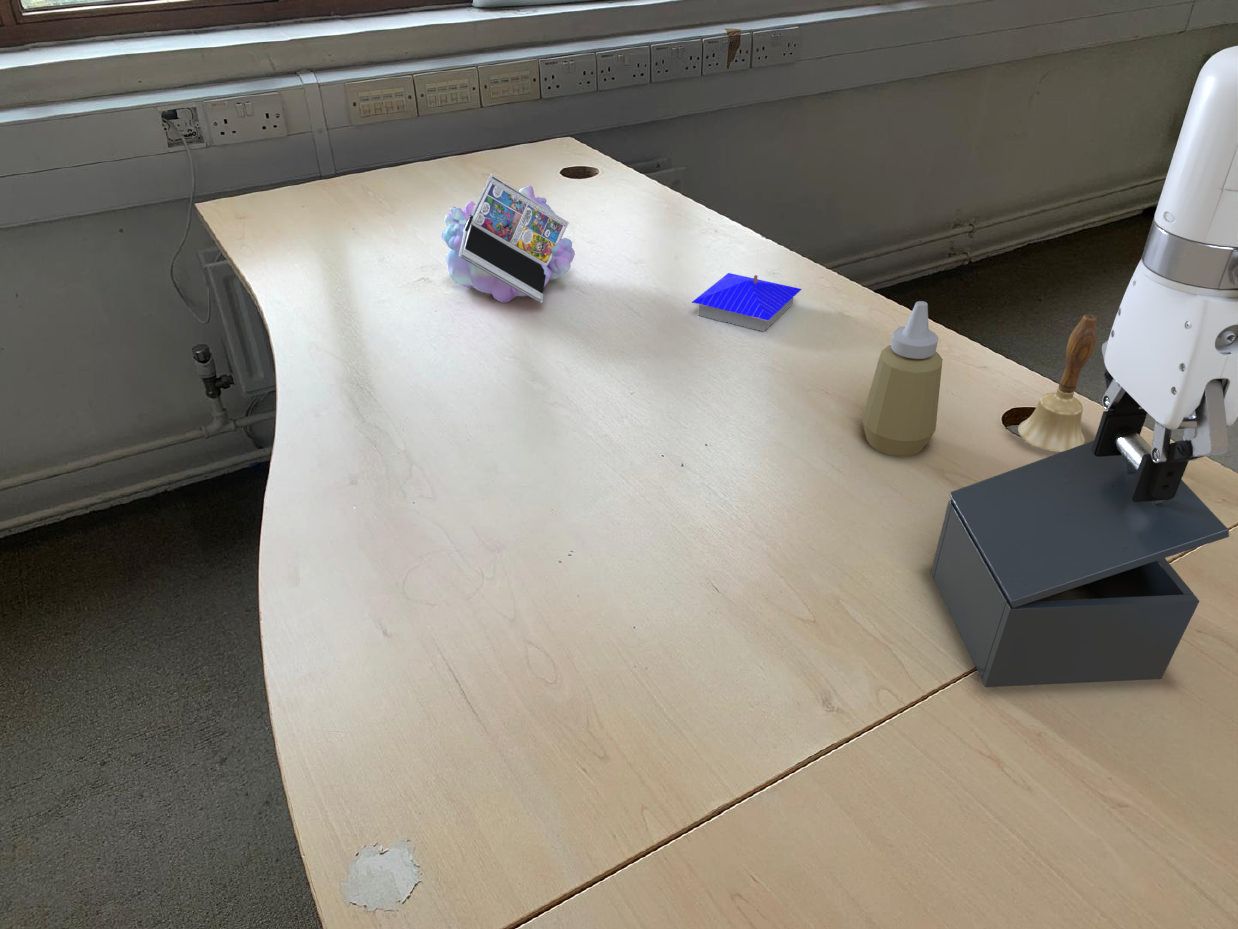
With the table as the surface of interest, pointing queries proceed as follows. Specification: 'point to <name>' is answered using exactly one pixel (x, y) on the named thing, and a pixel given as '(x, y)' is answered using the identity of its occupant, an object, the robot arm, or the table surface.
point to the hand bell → (1063, 397)
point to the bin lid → (1078, 520)
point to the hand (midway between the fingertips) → (1130, 473)
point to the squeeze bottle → (905, 389)
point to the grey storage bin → (1061, 620)
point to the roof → (746, 301)
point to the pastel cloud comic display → (506, 243)
